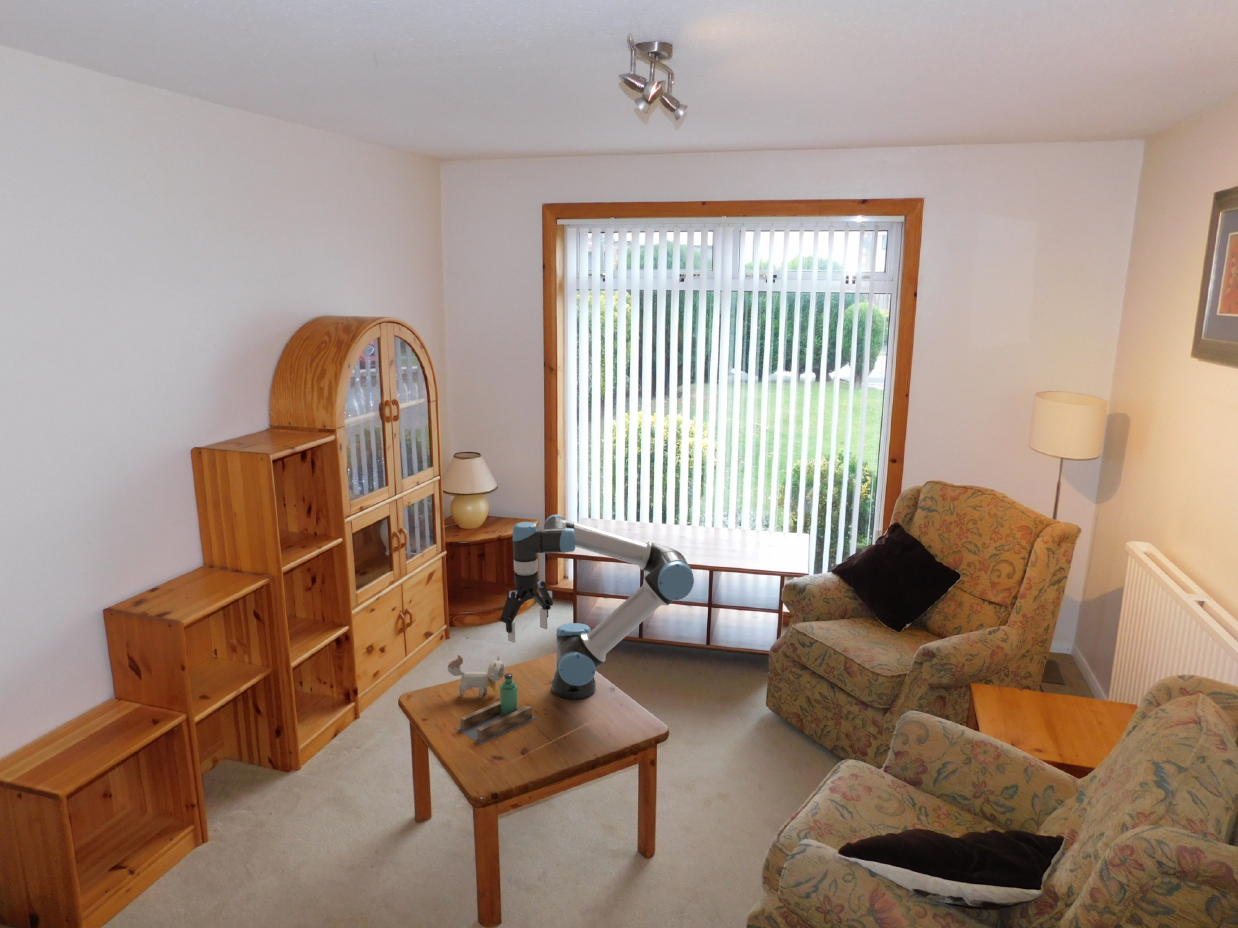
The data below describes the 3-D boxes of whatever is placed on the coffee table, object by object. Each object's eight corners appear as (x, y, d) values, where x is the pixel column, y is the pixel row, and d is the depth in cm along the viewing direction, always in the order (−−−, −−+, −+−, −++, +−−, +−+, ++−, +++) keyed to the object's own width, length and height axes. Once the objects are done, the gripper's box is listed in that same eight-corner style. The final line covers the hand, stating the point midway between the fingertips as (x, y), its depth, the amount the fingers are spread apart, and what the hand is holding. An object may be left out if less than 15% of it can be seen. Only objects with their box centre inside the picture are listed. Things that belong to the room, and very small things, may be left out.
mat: (511, 704, 274) (511, 703, 274) (536, 718, 265) (536, 717, 265) (455, 729, 259) (455, 727, 259) (480, 745, 250) (480, 744, 250)
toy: (502, 703, 275) (501, 661, 271) (445, 702, 275) (443, 660, 272) (506, 690, 283) (505, 649, 280) (451, 689, 284) (449, 648, 280)
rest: (511, 705, 272) (511, 695, 272) (532, 717, 265) (531, 707, 264) (460, 728, 258) (460, 717, 258) (481, 741, 251) (480, 730, 250)
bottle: (510, 711, 269) (509, 669, 266) (521, 717, 265) (520, 675, 262) (497, 717, 265) (496, 674, 262) (507, 723, 262) (506, 680, 258)
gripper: (547, 559, 272) (548, 619, 276) (487, 579, 254) (489, 643, 258) (562, 564, 267) (564, 625, 271) (502, 584, 249) (505, 650, 253)
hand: (528, 634), depth 265 cm, fingers open, 13 cm apart
